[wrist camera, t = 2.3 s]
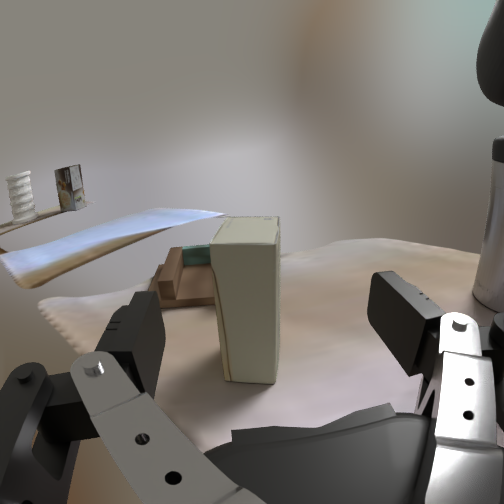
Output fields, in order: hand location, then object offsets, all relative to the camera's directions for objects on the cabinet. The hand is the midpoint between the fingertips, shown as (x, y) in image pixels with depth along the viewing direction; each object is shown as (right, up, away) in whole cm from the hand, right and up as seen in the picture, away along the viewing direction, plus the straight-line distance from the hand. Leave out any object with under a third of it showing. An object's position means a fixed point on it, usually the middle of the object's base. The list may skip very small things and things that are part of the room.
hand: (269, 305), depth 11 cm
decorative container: (-87, +14, +83) cm, 121 cm away
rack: (-7, -2, +30) cm, 31 cm away
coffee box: (-66, +17, +89) cm, 112 cm away
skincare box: (0, -8, +15) cm, 17 cm away
